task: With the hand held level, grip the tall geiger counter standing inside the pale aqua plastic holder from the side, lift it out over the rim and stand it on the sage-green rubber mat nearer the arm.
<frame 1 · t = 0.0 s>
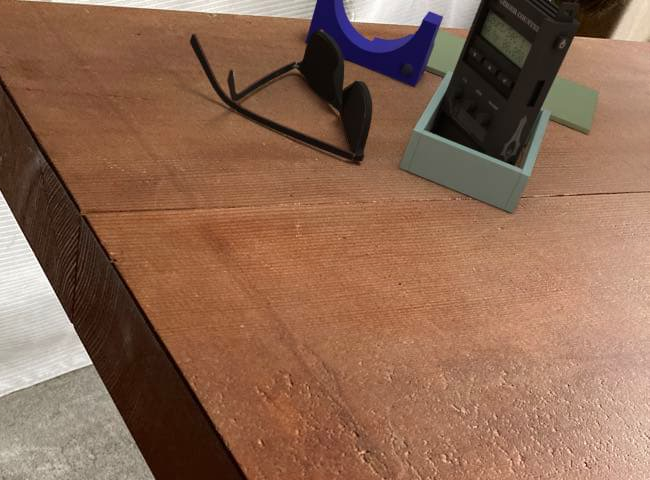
mat: (505, 80, 106), on the table
blue curved cradle stand: (364, 60, 101), on the table
geiger counter: (463, 154, 91), resting in holder
holder: (471, 156, 91), on the table
sunglasses: (268, 112, 87), on the table
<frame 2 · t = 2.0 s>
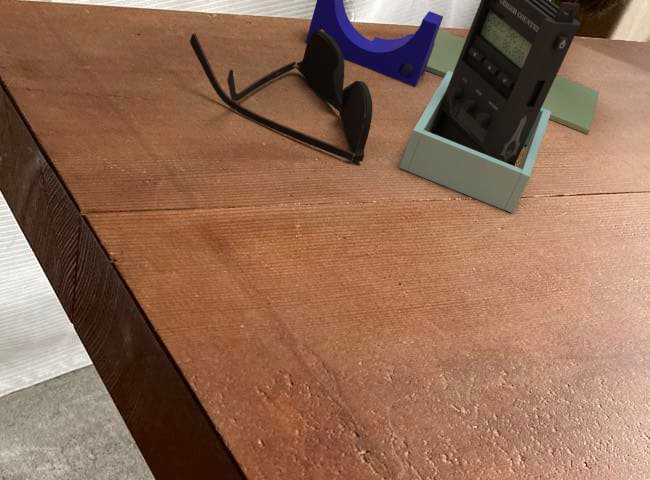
nothing on the table moved.
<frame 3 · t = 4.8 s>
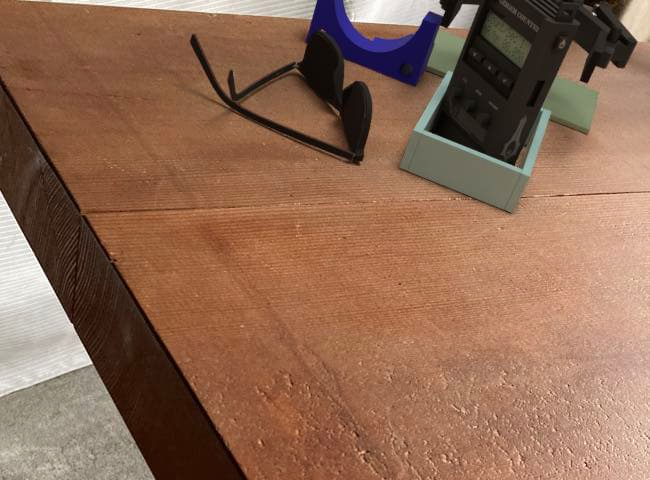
hand: (519, 39, 88), 9 cm above the table, tool horizontal, fingers open, 13 cm apart
nothing on the table moved.
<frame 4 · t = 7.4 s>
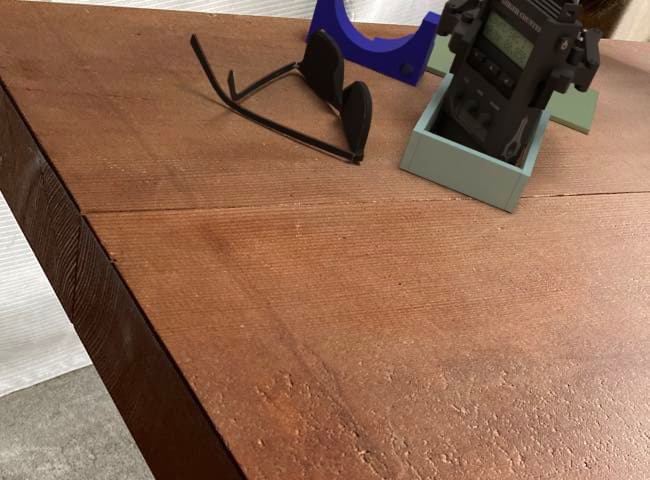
hand: (503, 75, 81), 9 cm above the table, tool horizontal, fingers closed on geiger counter, 7 cm apart
geiger counter: (463, 154, 91), resting in holder, touching gripper
everything else where it was.
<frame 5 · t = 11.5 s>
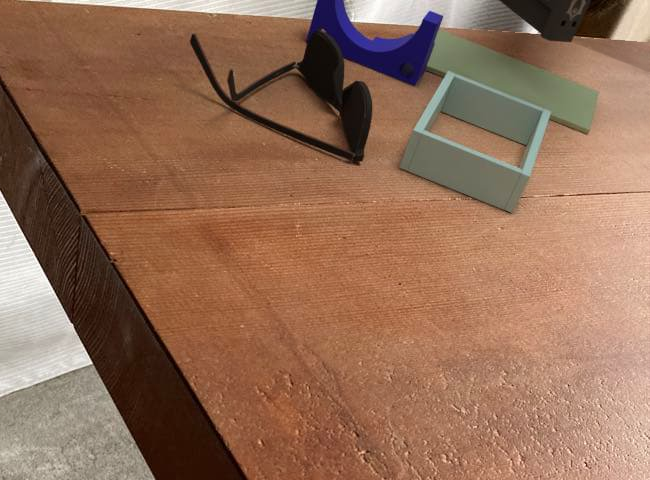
geiger counter: (526, 19, 93), point 9 cm above the table, touching gripper
everything else where it was.
when the fingers open (9 cm above the table, at t = 15.7 s): geiger counter stays where it is, resting on mat.
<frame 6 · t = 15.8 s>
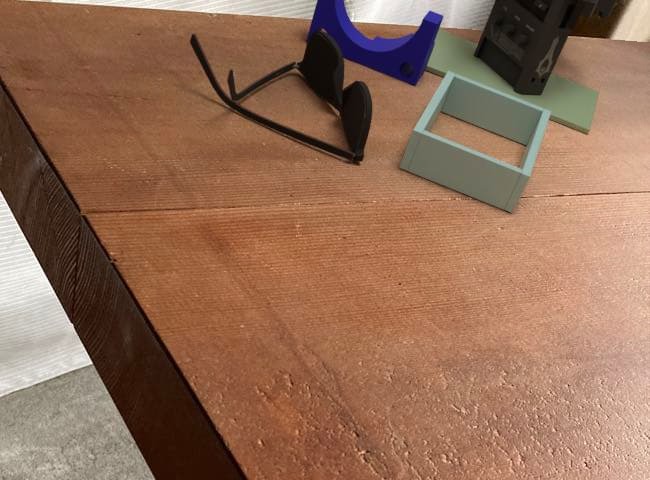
hand: (538, 0, 96), 9 cm above the table, tool horizontal, fingers open, 7 cm apart
geiger counter: (501, 74, 106), resting on mat
everything else where it was.
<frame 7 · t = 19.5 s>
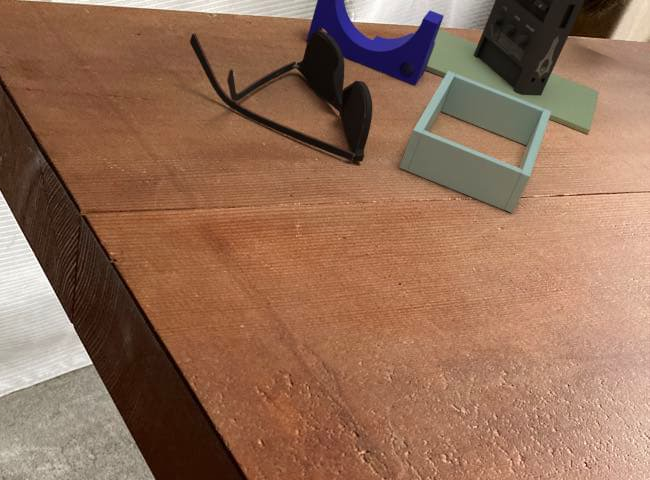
nothing on the table moved.
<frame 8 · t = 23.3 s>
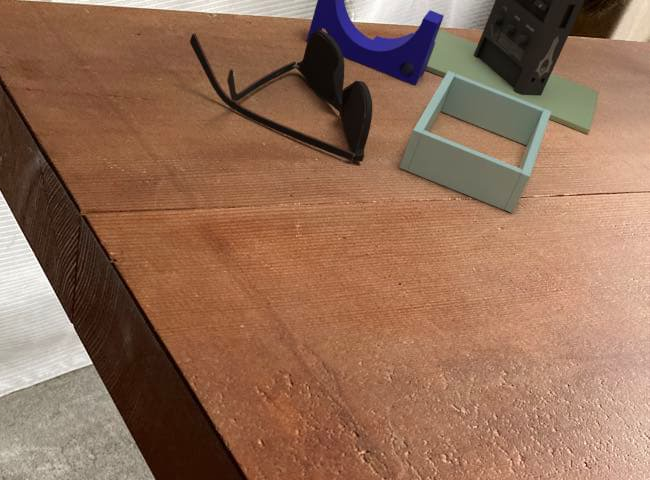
nothing on the table moved.
at the end: geiger counter inside the target area on the mat (0.6 cm from its centre), point 0.3 cm above the mat's base; geiger counter tilted 0°; geiger counter touching mat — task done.
